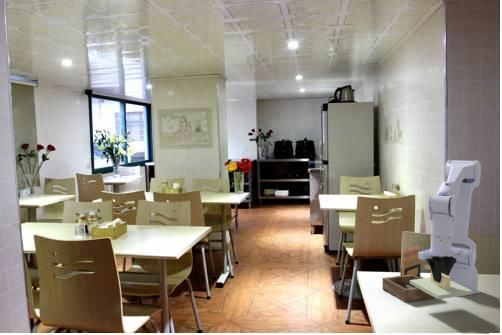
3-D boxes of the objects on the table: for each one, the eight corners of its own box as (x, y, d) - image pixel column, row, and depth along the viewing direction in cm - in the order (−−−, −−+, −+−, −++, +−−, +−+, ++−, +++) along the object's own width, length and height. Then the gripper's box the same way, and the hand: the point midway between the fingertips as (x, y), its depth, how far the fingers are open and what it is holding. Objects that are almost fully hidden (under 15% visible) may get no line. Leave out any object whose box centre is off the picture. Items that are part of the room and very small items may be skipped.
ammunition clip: (404, 283, 146) (405, 249, 145) (399, 281, 147) (400, 248, 147) (420, 276, 153) (421, 245, 152) (416, 275, 154) (416, 244, 153)
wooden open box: (412, 285, 143) (412, 274, 143) (436, 298, 132) (437, 285, 131) (382, 289, 140) (382, 278, 139) (405, 302, 128) (405, 290, 128)
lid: (441, 281, 130) (442, 265, 129) (472, 296, 118) (473, 279, 118) (409, 285, 126) (410, 269, 126) (437, 301, 115) (438, 283, 114)
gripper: (430, 240, 115) (429, 288, 116) (472, 237, 119) (470, 282, 120) (413, 235, 122) (412, 280, 123) (453, 232, 126) (452, 275, 127)
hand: (440, 281), depth 122 cm, fingers closed on lid
